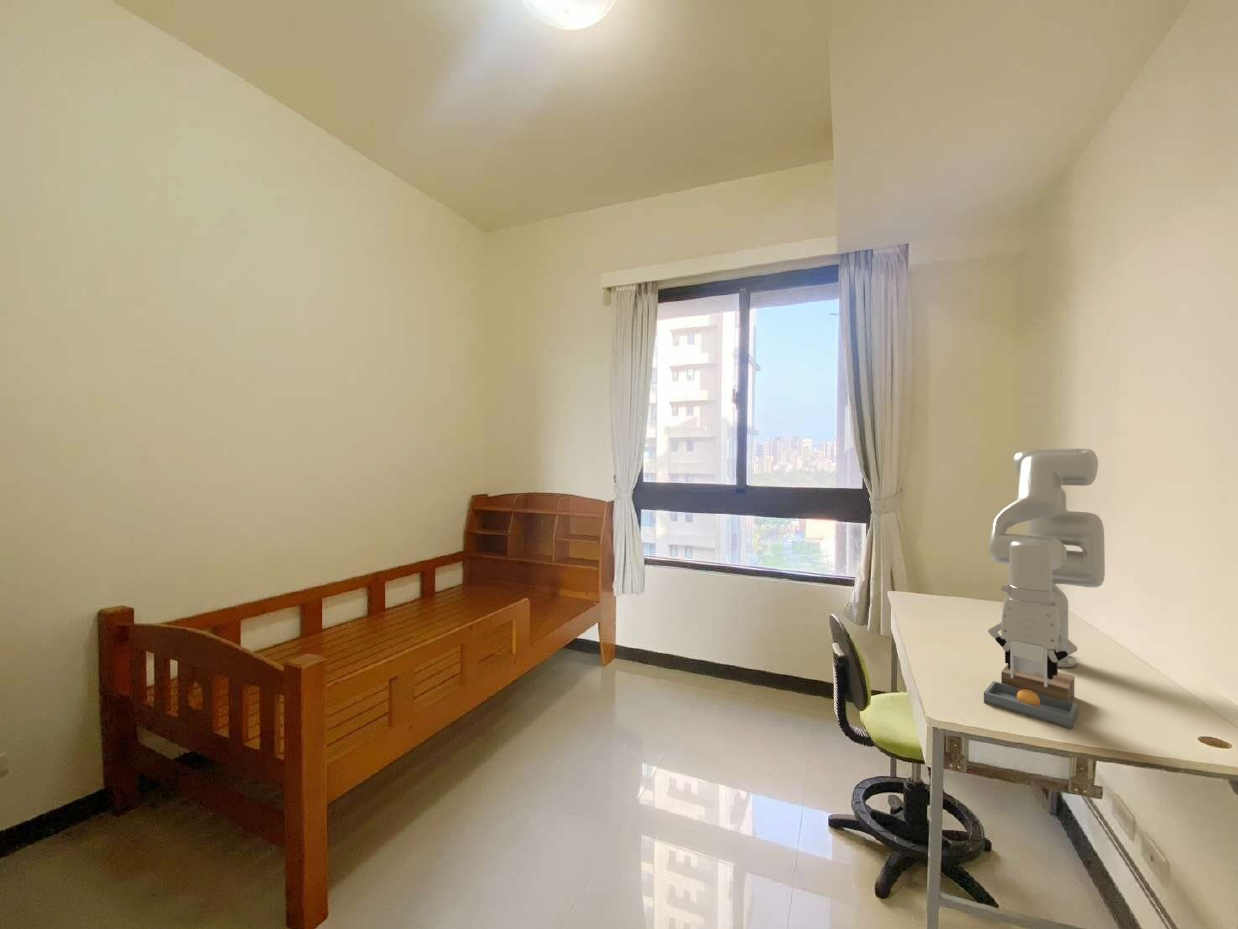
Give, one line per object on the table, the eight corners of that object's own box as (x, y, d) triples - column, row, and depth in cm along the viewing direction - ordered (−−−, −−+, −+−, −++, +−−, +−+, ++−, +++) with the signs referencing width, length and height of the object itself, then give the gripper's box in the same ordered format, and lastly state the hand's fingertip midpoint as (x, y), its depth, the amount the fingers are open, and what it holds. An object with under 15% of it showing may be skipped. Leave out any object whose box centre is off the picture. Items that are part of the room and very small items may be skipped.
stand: (1010, 680, 124) (1010, 660, 124) (1074, 697, 115) (1074, 676, 115) (1001, 692, 117) (1001, 671, 117) (1068, 711, 108) (1068, 689, 108)
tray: (993, 690, 118) (993, 680, 118) (1077, 714, 107) (1077, 703, 107) (983, 702, 112) (983, 692, 112) (1071, 729, 101) (1071, 717, 101)
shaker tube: (1015, 670, 115) (1015, 632, 115) (1051, 679, 111) (1051, 640, 110) (1009, 678, 111) (1009, 639, 111) (1046, 688, 106) (1046, 647, 106)
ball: (1019, 698, 112) (1018, 683, 111) (1041, 705, 109) (1041, 689, 108) (1015, 708, 109) (1014, 692, 109) (1038, 715, 106) (1037, 699, 106)
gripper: (980, 590, 115) (980, 665, 115) (1080, 606, 102) (1080, 691, 102) (988, 584, 120) (988, 656, 120) (1084, 599, 107) (1084, 680, 107)
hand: (1030, 671), depth 111 cm, fingers closed on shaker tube, 6 cm apart
